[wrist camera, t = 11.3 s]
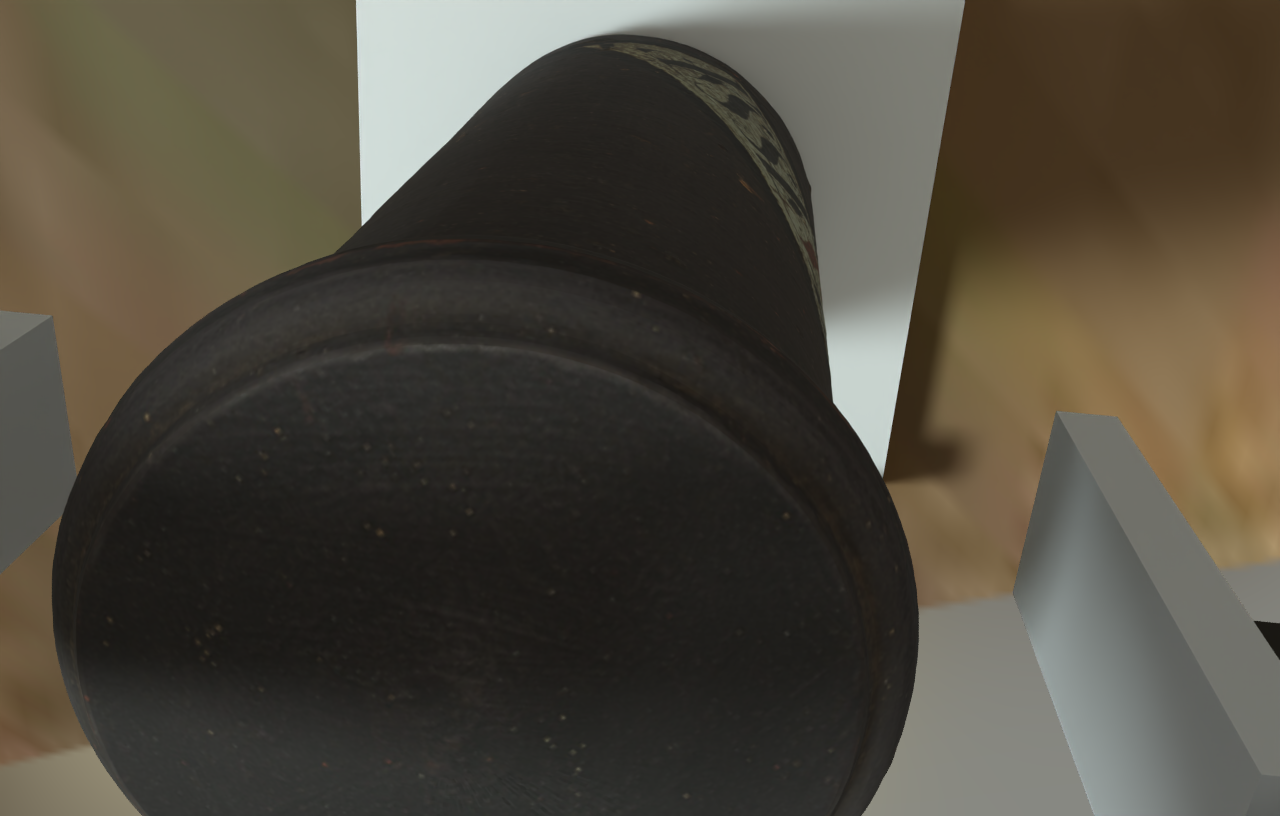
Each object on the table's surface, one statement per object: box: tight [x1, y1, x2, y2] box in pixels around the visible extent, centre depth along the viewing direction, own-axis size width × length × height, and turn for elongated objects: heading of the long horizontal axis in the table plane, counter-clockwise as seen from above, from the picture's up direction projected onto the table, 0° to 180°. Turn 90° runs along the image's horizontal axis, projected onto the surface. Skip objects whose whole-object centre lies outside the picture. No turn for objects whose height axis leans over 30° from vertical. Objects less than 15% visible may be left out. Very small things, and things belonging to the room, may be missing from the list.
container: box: [52, 34, 919, 816], centre depth 20 cm, size 9×9×20 cm
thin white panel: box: [356, 0, 965, 478], centre depth 29 cm, size 20×14×4 cm
